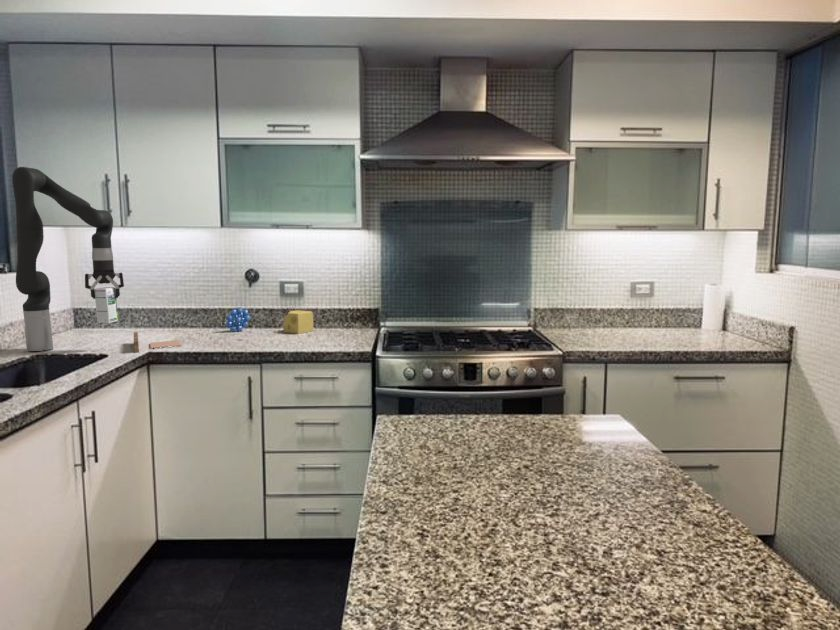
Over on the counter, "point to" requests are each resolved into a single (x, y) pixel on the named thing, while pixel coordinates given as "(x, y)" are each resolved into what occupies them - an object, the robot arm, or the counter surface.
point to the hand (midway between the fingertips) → (105, 298)
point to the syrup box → (106, 305)
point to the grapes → (238, 319)
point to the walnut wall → (136, 342)
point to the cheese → (298, 322)
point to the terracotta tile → (165, 344)
